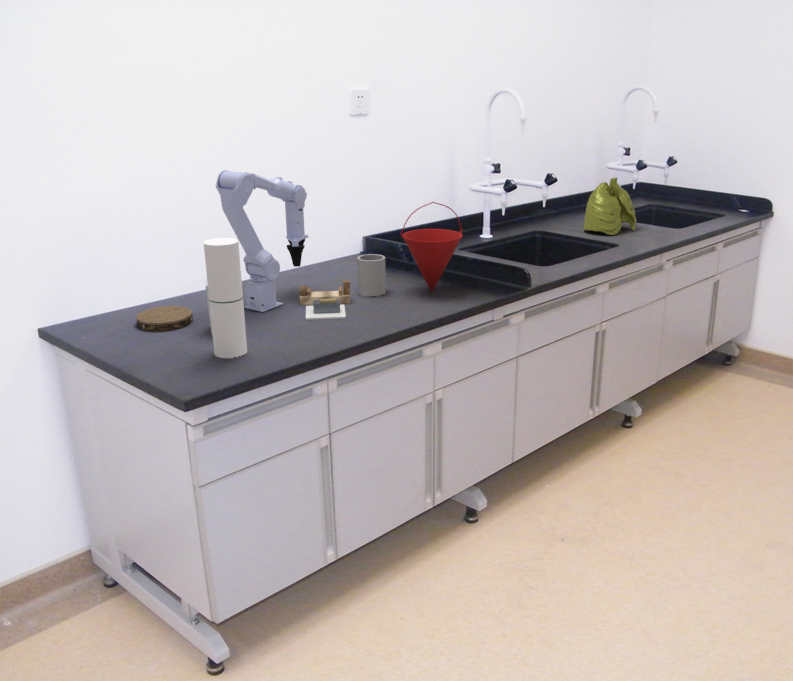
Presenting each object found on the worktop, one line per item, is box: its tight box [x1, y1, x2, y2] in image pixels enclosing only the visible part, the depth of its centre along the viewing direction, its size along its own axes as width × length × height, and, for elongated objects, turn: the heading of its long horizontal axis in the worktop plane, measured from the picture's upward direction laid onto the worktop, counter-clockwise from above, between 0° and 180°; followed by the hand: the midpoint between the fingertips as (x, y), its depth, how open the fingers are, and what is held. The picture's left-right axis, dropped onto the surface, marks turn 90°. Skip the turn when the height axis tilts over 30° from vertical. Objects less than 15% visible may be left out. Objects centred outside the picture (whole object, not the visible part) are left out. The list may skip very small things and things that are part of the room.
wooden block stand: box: [298, 279, 352, 306], centre depth 242 cm, size 16×6×6 cm, turn 95°
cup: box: [356, 253, 387, 297], centre depth 250 cm, size 9×9×12 cm
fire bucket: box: [399, 201, 464, 292], centre depth 248 cm, size 22×20×30 cm
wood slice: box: [136, 305, 194, 333], centre depth 224 cm, size 16×16×3 cm
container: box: [203, 237, 248, 359], centre depth 196 cm, size 9×9×30 cm
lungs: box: [583, 177, 637, 236], centre depth 335 cm, size 25×16×24 cm, turn 125°
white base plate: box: [305, 304, 347, 321], centre depth 232 cm, size 12×12×1 cm
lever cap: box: [312, 299, 341, 314], centre depth 231 cm, size 8×4×4 cm, turn 95°
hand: (297, 263), depth 248 cm, fingers open, 7 cm apart
